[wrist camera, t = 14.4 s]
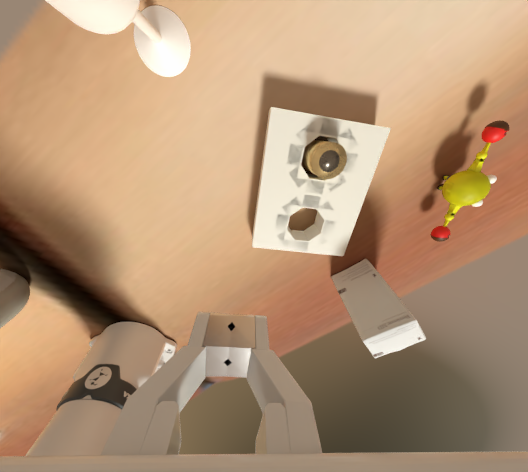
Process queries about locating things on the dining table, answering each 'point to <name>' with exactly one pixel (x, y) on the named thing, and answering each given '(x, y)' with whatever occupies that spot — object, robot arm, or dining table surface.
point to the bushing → (324, 158)
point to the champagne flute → (135, 29)
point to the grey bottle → (12, 295)
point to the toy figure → (469, 181)
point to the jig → (313, 182)
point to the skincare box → (376, 310)
